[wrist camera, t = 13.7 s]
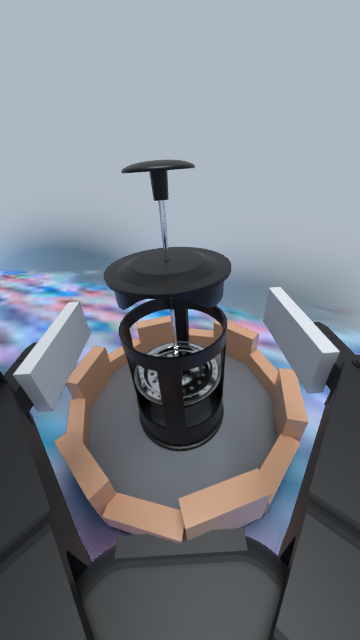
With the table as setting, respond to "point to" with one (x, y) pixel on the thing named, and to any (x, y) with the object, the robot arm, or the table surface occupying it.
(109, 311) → the table surface
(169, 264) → the french press
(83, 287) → the table surface
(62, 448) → the castellated ring
